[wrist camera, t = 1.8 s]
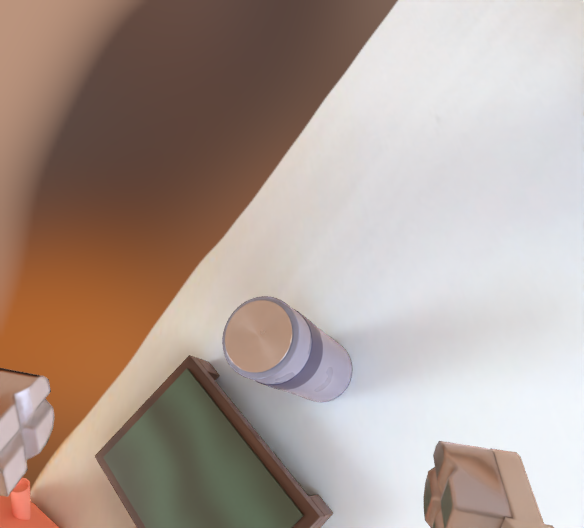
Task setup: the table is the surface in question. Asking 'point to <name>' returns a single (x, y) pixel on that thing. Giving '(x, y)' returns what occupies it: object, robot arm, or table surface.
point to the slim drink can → (285, 350)
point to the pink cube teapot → (22, 509)
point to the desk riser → (202, 463)
